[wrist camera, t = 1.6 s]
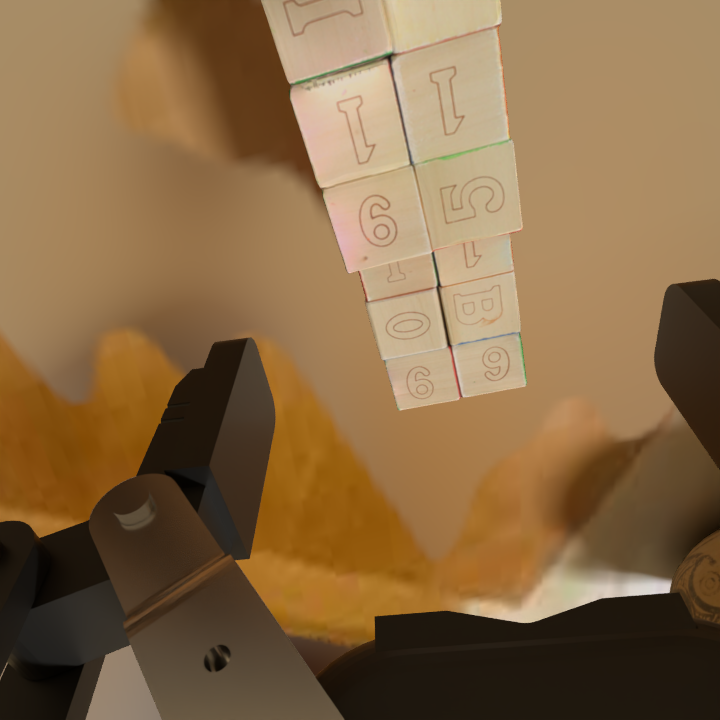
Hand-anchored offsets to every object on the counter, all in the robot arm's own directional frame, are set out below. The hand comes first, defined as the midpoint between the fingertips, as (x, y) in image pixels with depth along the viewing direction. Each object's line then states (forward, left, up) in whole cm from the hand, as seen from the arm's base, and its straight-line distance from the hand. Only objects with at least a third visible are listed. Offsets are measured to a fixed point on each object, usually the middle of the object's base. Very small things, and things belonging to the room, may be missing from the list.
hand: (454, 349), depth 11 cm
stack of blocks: (0, 0, -21) cm, 21 cm away
